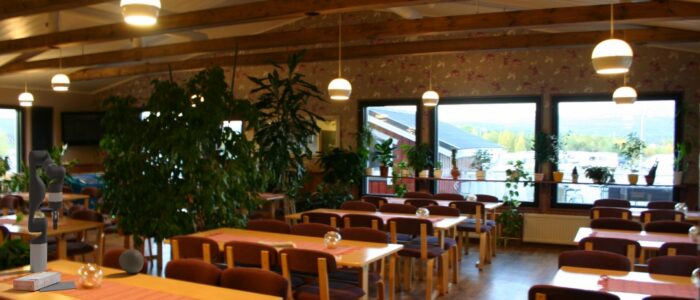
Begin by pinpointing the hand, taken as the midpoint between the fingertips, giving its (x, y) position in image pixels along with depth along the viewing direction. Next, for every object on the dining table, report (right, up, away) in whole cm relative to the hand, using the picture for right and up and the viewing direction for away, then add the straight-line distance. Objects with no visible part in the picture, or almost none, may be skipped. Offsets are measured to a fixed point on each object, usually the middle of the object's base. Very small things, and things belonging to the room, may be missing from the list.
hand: (55, 229), depth 349 cm
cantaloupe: (+37, -31, +22) cm, 52 cm away
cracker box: (0, -27, -4) cm, 27 cm away
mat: (+8, -30, -13) cm, 34 cm away
